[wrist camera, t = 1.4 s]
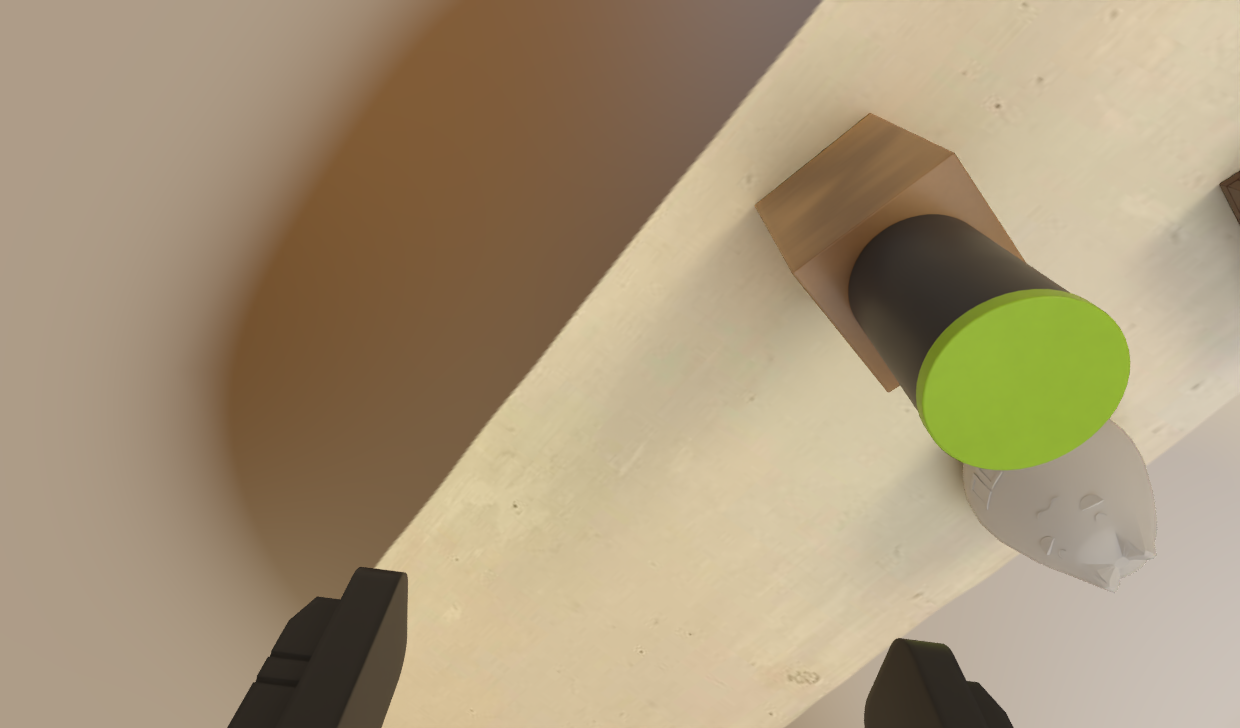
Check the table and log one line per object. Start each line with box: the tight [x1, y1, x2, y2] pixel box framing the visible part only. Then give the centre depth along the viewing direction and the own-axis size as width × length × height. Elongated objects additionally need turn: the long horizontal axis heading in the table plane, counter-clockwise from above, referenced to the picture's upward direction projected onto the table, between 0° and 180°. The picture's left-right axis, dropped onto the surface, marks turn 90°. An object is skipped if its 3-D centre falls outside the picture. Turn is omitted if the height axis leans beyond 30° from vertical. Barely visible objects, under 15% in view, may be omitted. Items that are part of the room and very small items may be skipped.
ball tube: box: [848, 214, 1130, 470], centre depth 27 cm, size 6×6×10 cm
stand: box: [755, 113, 1026, 392], centre depth 37 cm, size 8×8×12 cm
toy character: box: [963, 419, 1157, 593], centre depth 44 cm, size 10×10×12 cm
